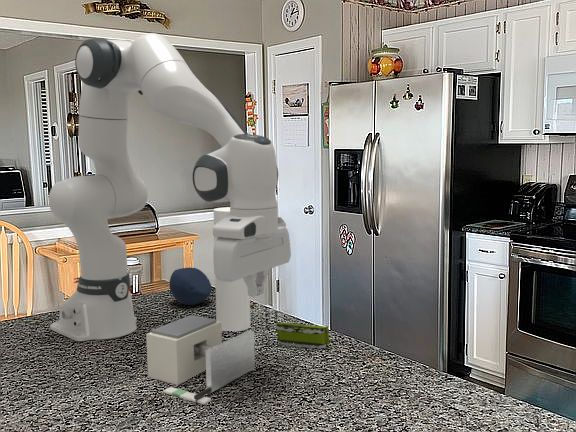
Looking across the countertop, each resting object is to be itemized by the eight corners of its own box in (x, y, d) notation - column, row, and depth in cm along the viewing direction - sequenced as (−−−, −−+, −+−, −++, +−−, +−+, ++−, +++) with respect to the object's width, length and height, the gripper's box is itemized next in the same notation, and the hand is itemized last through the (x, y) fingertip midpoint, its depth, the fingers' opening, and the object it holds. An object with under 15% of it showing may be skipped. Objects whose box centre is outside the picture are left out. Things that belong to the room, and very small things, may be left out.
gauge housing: (133, 383, 121) (131, 336, 120) (193, 355, 136) (192, 313, 135) (204, 404, 112) (202, 353, 110) (260, 371, 127) (259, 326, 125)
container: (257, 324, 158) (255, 208, 154) (236, 333, 151) (234, 212, 147) (230, 319, 162) (227, 206, 158) (209, 328, 155) (206, 210, 151)
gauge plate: (152, 387, 118) (150, 347, 117) (212, 358, 133) (211, 322, 132) (196, 401, 112) (195, 358, 111) (254, 368, 127) (254, 331, 126)
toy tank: (323, 331, 135) (334, 310, 144) (244, 324, 141) (259, 304, 150) (325, 359, 138) (336, 336, 147) (247, 351, 144) (262, 329, 153)
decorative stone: (163, 309, 172) (162, 274, 171) (178, 297, 184) (177, 265, 182) (204, 310, 170) (203, 275, 169) (216, 299, 182) (215, 266, 181)
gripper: (271, 214, 125) (272, 281, 126) (206, 228, 108) (208, 305, 109) (297, 216, 121) (298, 285, 123) (235, 231, 104) (237, 310, 106)
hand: (256, 294), depth 116 cm, fingers closed
